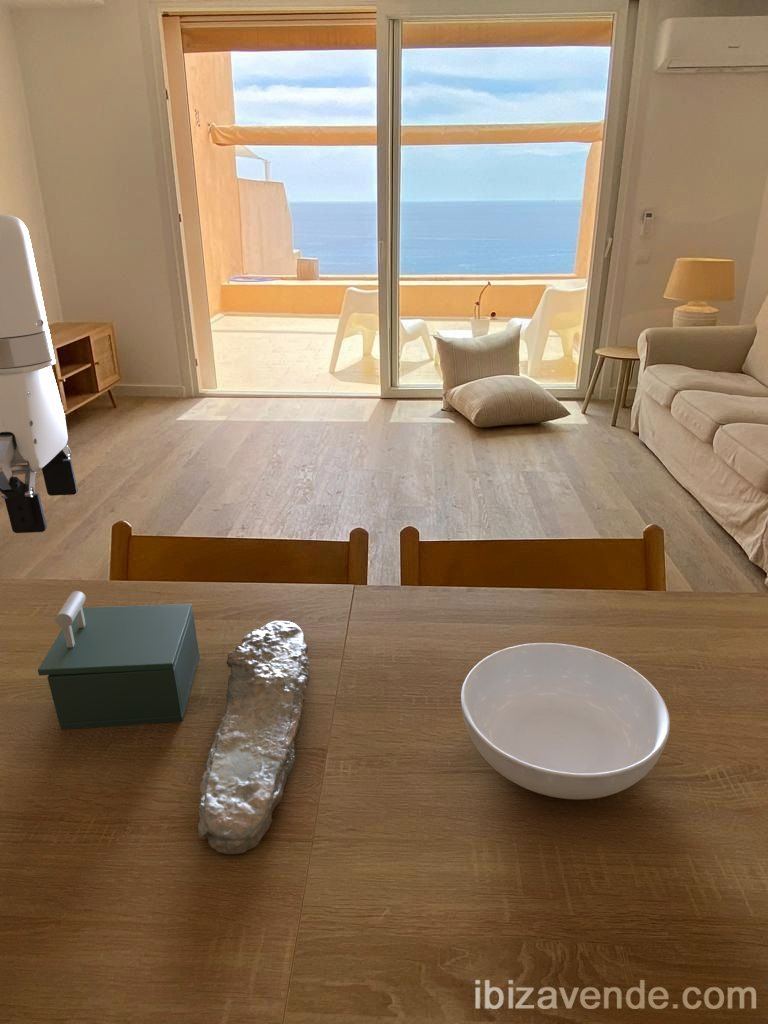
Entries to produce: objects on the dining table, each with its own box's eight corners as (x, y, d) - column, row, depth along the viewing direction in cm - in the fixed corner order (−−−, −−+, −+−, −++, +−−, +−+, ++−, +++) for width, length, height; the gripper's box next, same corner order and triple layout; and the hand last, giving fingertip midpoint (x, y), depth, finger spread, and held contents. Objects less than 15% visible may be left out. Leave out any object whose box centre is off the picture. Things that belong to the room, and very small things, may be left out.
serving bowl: (497, 670, 88) (500, 624, 85) (673, 723, 78) (683, 673, 76) (427, 781, 71) (428, 729, 68) (640, 865, 62) (651, 808, 59)
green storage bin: (60, 729, 79) (47, 677, 76) (93, 662, 90) (82, 615, 87) (182, 721, 80) (173, 669, 77) (199, 656, 91) (192, 608, 88)
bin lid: (38, 675, 76) (28, 634, 73) (75, 613, 87) (67, 575, 85) (173, 669, 77) (167, 628, 74) (192, 608, 88) (187, 571, 86)
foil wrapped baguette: (175, 868, 64) (283, 871, 64) (169, 829, 61) (282, 833, 61) (244, 633, 95) (317, 636, 95) (242, 601, 92) (317, 604, 92)
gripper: (7, 337, 75) (41, 483, 82) (-76, 372, 59) (-25, 550, 66) (78, 335, 76) (106, 480, 83) (15, 370, 60) (55, 546, 67)
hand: (47, 511), depth 75 cm, fingers open, 9 cm apart
